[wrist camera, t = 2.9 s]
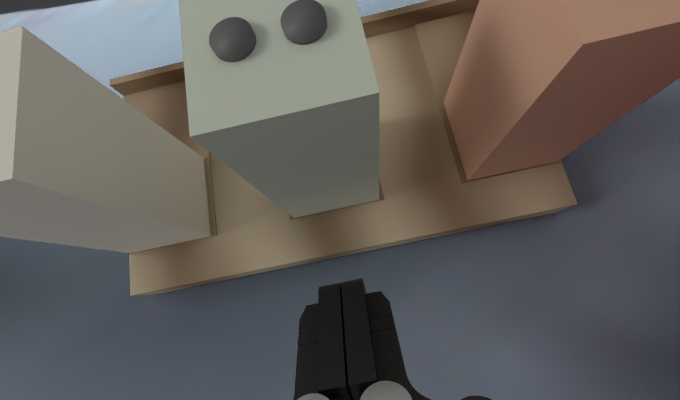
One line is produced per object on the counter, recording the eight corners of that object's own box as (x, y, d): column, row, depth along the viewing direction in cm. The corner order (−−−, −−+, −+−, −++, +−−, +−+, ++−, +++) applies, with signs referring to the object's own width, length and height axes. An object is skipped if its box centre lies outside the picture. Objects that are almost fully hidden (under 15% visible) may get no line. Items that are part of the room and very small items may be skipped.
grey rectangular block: (210, 236, 18) (1, 175, 8) (130, 253, 18) (-170, 215, 8) (203, 157, 19) (13, 19, 9) (128, 175, 19) (-136, 59, 9)
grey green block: (379, 200, 17) (379, 86, 7) (293, 218, 18) (183, 132, 8) (361, 121, 18) (340, -67, 9) (281, 139, 19) (172, -23, 9)
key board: (487, 25, 21) (506, -19, 18) (557, 212, 18) (593, 197, 15) (146, 107, 23) (109, 79, 20) (154, 294, 20) (112, 296, 17)
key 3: (558, 161, 17) (816, -17, 7) (467, 180, 17) (589, 36, 7) (528, 83, 18) (711, -166, 8) (443, 102, 18) (520, -115, 8)
